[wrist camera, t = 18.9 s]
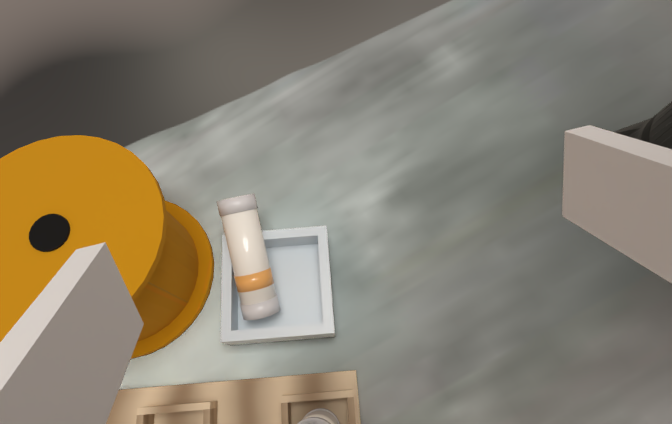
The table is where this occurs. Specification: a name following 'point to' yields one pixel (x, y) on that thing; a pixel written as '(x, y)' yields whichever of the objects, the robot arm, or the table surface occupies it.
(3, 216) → the spool
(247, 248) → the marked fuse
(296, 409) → the fuse block
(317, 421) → the fuse
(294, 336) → the tray
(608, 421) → the table surface
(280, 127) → the table surface
